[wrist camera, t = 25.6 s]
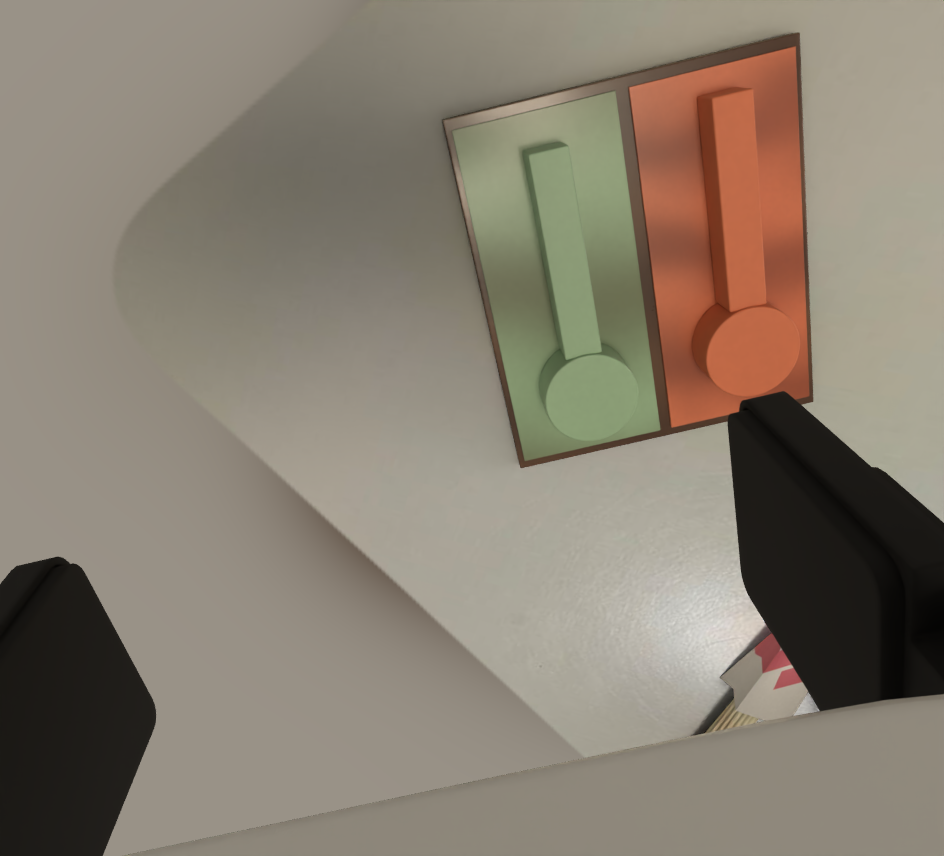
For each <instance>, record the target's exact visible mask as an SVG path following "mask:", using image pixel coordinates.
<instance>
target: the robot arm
mask: <svg viewBox="0 0 944 856" xmlns="http://www.w3.org/2000/svg"><path fill="white" fill-rule="evenodd" d="M728 433H729V444H730V455H731V466H732V477H733V488H734V499H735V510H736V521H737V532H738V543H739V554H740V566H741V574H742V578H743V582H744V585H745V588H746V591H747V593H748V595H749V597H750V599H751V600H752V602H753V604H754V605H755V607H756V609H757V610H758V612H759V613H760V615H761V617H762V618H763V620H764V621H765V623H766V625H767V626H768V628H769V629H770V631H771V633H772V634H773V636H774V637H775V639H776V641H777V642H778V644H779V645H780V647H781V649H782V650H783V652H784V653H785V655H786V657H787V658H788V660H789V661H790V663H791V665H792V666H793V668H794V669H795V671H796V673H797V674H798V676H799V677H800V679H801V681H802V682H803V684H804V686H805V687H806V689H807V690H808V692H809V694H810V695H811V697H812V698H813V700H814V702H815V703H816V705H817V706H818V708H819V710H820V712H814V713H808V714H802V715H797V716H791V717H785V718H779V719H773V720H768V721H762V722H757V723H753V724H748V725H743V726H738V727H733V728H728V729H724V730H719V731H714V732H709V733H704V734H699V735H694V736H690V737H685V738H680V739H675V740H670V741H665V742H660V743H656V744H651V745H646V746H641V747H636V748H631V749H627V750H622V751H617V752H612V753H607V754H602V755H597V756H593V757H588V758H583V759H578V760H573V761H568V762H564V763H559V764H554V765H549V766H544V767H539V768H534V769H530V770H525V771H521V772H515V773H511V774H506V775H501V776H497V777H492V778H488V779H483V780H478V781H473V782H468V783H464V784H459V785H454V786H450V787H445V788H440V789H435V790H431V791H426V792H421V793H417V794H412V795H407V796H403V797H398V798H394V799H388V800H384V801H379V802H375V803H369V804H365V805H360V806H356V807H351V808H346V809H341V810H337V811H332V812H327V813H322V814H318V815H313V816H308V817H304V818H299V819H294V820H289V821H285V822H280V823H276V824H270V825H266V826H261V827H256V828H252V829H247V830H242V831H237V832H233V833H228V834H223V835H219V836H214V837H209V838H204V839H200V840H195V841H190V842H186V843H180V844H176V845H172V846H166V847H162V848H157V849H153V850H147V851H143V852H138V853H133V854H128V855H124V856H944V523H943V522H942V521H941V520H940V519H939V518H938V517H936V516H935V515H934V514H933V513H932V512H931V511H929V510H928V509H927V508H926V507H925V506H924V505H923V504H921V503H920V502H919V501H918V500H917V499H916V498H914V497H913V496H912V495H911V494H910V493H909V492H908V491H906V490H905V489H904V488H903V487H902V486H901V485H899V484H898V483H897V482H896V481H895V480H894V479H893V478H891V477H890V476H889V475H888V474H887V473H886V472H884V471H882V470H881V469H879V468H876V467H871V466H870V465H869V464H867V463H866V462H865V461H864V460H863V459H862V458H861V457H859V456H858V455H857V454H856V453H855V452H854V451H853V450H852V449H850V448H849V447H848V446H847V445H846V444H845V443H844V442H842V441H841V440H840V439H839V438H838V437H837V436H836V435H835V434H833V433H832V432H831V431H830V430H829V429H828V428H827V427H825V426H824V425H823V424H822V423H821V422H820V421H819V420H818V419H816V418H815V417H814V416H813V415H812V414H811V413H810V412H808V411H807V410H806V409H805V408H804V407H803V406H802V405H801V404H799V403H798V402H797V401H796V400H795V399H794V398H793V397H791V396H790V395H789V394H788V393H786V392H785V391H781V392H777V393H773V394H768V395H764V396H759V397H755V398H751V399H746V400H742V401H741V403H740V407H739V412H736V413H731V414H729V416H728ZM155 723H156V709H155V704H154V702H153V699H152V697H151V696H150V694H149V692H148V690H147V688H146V686H145V684H144V682H143V681H142V679H141V677H140V675H139V673H138V671H137V669H136V667H135V666H134V664H133V662H132V660H131V658H130V656H129V654H128V653H127V651H126V649H125V647H124V645H123V643H122V641H121V639H120V638H119V636H118V634H117V632H116V630H115V628H114V627H113V625H112V623H111V621H110V619H109V617H108V615H107V613H106V612H105V610H104V608H103V606H102V604H101V602H100V601H99V599H98V597H97V595H96V593H95V591H94V589H93V587H92V586H91V584H90V582H89V580H88V578H87V576H86V574H85V573H84V571H83V570H82V568H81V567H80V566H78V565H77V564H70V563H69V562H68V561H66V560H65V559H64V558H61V557H54V558H50V559H46V560H42V561H37V562H32V563H28V564H24V565H19V566H16V567H15V568H14V569H13V570H11V572H10V573H9V574H8V575H7V577H6V578H5V579H4V580H3V581H2V583H1V584H0V856H103V853H104V851H105V849H106V846H107V844H108V841H109V838H110V836H111V833H112V831H113V829H114V826H115V824H116V821H117V819H118V816H119V814H120V811H121V809H122V806H123V804H124V801H125V799H126V796H127V794H128V792H129V789H130V786H131V784H132V782H133V779H134V777H135V774H136V772H137V769H138V766H139V764H140V762H141V759H142V757H143V754H144V752H145V749H146V747H147V744H148V742H149V739H150V737H151V735H152V732H153V729H154V726H155Z"/></svg>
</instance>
